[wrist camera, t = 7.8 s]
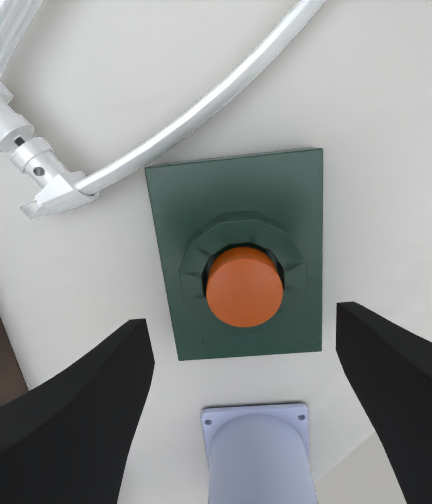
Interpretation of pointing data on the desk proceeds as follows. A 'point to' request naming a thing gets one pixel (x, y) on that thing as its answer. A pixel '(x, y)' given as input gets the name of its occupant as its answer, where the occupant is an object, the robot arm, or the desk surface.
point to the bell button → (244, 287)
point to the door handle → (87, 187)
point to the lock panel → (9, 372)
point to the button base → (241, 245)
